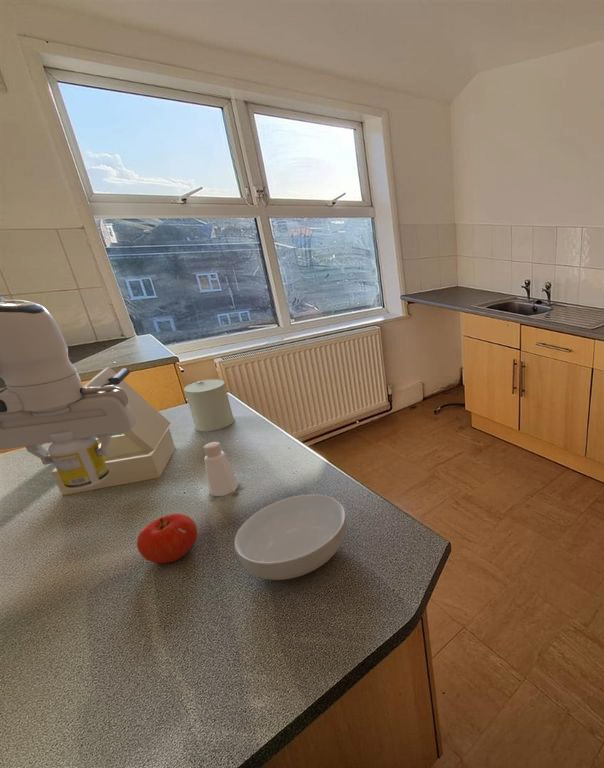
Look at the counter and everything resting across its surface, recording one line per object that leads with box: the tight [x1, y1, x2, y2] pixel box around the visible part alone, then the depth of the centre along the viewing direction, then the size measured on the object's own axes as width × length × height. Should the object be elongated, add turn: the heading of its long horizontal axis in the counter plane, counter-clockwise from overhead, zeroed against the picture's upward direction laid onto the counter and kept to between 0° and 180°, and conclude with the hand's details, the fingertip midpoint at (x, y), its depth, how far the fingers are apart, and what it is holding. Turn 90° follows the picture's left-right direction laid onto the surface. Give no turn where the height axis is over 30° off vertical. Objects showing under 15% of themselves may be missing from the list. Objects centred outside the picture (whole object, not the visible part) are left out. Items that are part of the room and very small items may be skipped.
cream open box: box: [51, 427, 176, 496], centre depth 97 cm, size 17×14×6 cm
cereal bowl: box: [234, 494, 348, 581], centre depth 74 cm, size 17×17×7 cm
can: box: [183, 378, 235, 433], centre depth 116 cm, size 9×9×12 cm
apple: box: [136, 513, 198, 564], centre depth 73 cm, size 8×8×8 cm
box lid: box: [83, 366, 171, 454], centre depth 94 cm, size 17×14×6 cm
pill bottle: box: [47, 432, 109, 489], centre depth 82 cm, size 6×6×12 cm
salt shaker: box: [203, 441, 240, 497], centre depth 90 cm, size 5×5×11 cm
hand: (78, 458), depth 82 cm, fingers closed on pill bottle, 6 cm apart
